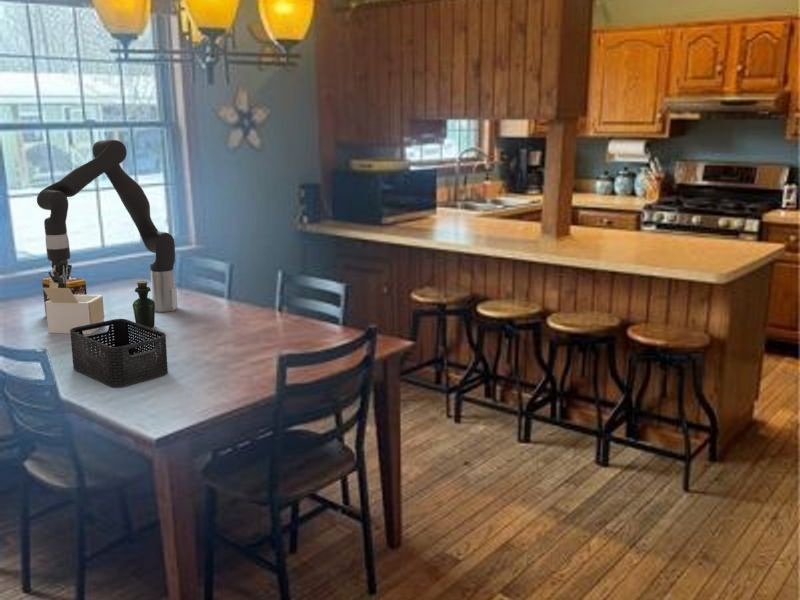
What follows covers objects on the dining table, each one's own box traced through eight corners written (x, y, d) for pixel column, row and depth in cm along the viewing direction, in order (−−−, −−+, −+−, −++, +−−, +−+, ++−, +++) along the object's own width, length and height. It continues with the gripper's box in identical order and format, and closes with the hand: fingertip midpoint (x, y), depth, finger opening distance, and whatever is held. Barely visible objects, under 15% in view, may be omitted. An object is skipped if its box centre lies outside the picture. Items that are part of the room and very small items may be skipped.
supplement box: (65, 322, 282) (61, 284, 278) (45, 316, 291) (41, 278, 287) (89, 317, 290) (86, 279, 286) (69, 311, 299) (66, 274, 295)
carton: (106, 324, 279) (103, 294, 277) (92, 333, 267) (89, 302, 264) (64, 323, 280) (61, 294, 277) (48, 332, 268) (45, 301, 265)
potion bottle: (134, 331, 271) (131, 285, 267) (134, 325, 279) (130, 280, 274) (157, 329, 274) (154, 283, 270) (155, 323, 282) (152, 279, 277)
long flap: (69, 288, 257) (68, 289, 256) (78, 302, 264) (78, 303, 264) (42, 287, 257) (42, 288, 257) (52, 301, 264) (52, 302, 264)
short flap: (60, 273, 271) (59, 273, 271) (52, 277, 265) (51, 276, 265) (55, 295, 273) (54, 294, 273) (47, 298, 268) (46, 298, 268)
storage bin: (172, 373, 227) (170, 333, 224) (116, 390, 213) (112, 347, 209) (124, 355, 245) (121, 317, 241) (69, 369, 230) (65, 329, 227)
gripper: (58, 250, 249) (64, 297, 254) (76, 243, 262) (81, 288, 267) (37, 249, 249) (43, 297, 254) (56, 242, 262) (61, 288, 267)
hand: (63, 292), depth 260 cm, fingers closed
